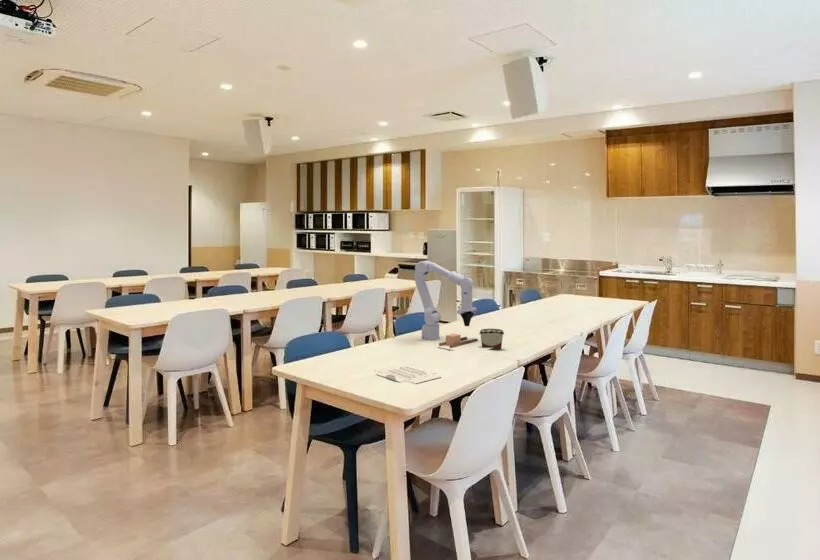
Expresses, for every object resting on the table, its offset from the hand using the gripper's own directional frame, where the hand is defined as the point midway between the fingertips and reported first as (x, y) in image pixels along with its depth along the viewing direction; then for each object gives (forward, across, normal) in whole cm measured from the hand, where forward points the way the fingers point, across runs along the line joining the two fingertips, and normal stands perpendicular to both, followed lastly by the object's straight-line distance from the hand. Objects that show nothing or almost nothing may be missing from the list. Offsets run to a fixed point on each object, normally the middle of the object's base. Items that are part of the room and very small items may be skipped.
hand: (466, 326), depth 283 cm
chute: (+9, -7, 0) cm, 12 cm away
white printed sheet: (+10, -64, -18) cm, 68 cm away
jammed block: (+8, -12, 0) cm, 14 cm away
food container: (+10, -2, -17) cm, 20 cm away
